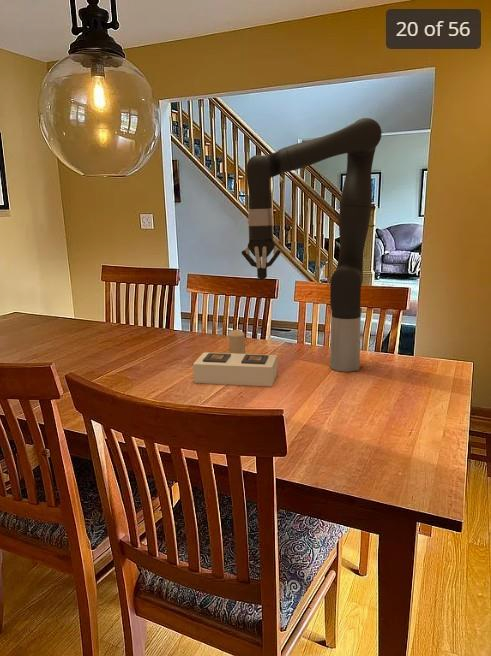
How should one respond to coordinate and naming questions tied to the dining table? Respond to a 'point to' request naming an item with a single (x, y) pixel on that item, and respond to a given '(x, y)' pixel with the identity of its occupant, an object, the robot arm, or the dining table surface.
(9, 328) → the dining table surface
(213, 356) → the peg
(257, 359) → the peg
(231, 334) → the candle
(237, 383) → the socket board
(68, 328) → the dining table surface
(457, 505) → the dining table surface
